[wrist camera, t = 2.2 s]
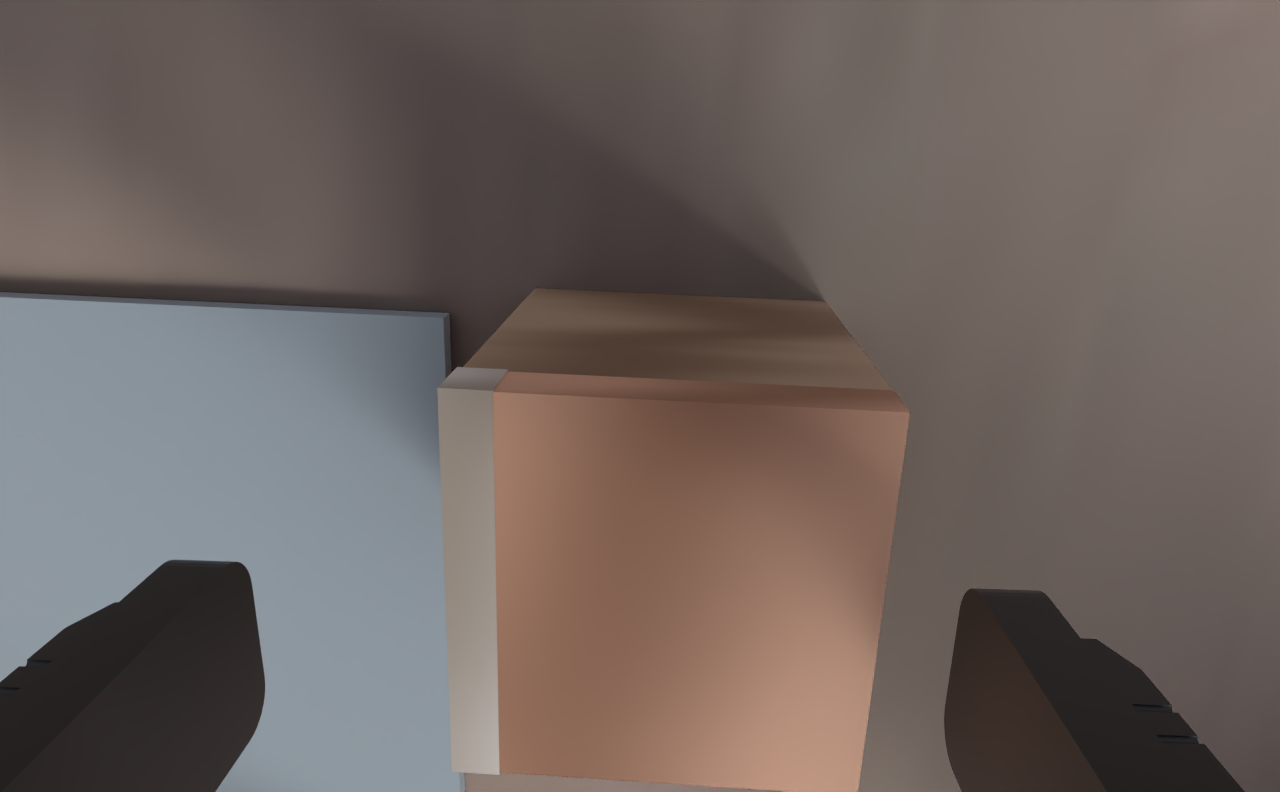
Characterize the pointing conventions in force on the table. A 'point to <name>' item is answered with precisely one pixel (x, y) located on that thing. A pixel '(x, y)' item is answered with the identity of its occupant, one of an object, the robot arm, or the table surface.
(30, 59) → the table surface
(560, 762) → the block
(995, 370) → the table surface
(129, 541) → the arena
